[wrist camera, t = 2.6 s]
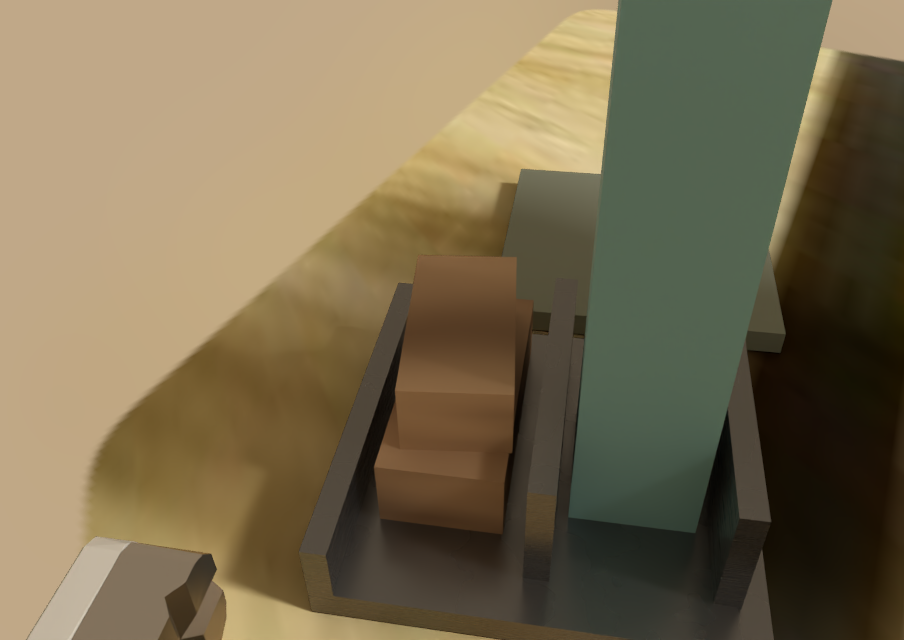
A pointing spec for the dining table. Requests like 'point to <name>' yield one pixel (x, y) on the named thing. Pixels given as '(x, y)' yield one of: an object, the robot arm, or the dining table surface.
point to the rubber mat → (590, 252)
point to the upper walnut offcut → (459, 356)
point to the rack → (541, 526)
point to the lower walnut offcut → (453, 466)
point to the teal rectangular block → (682, 241)
